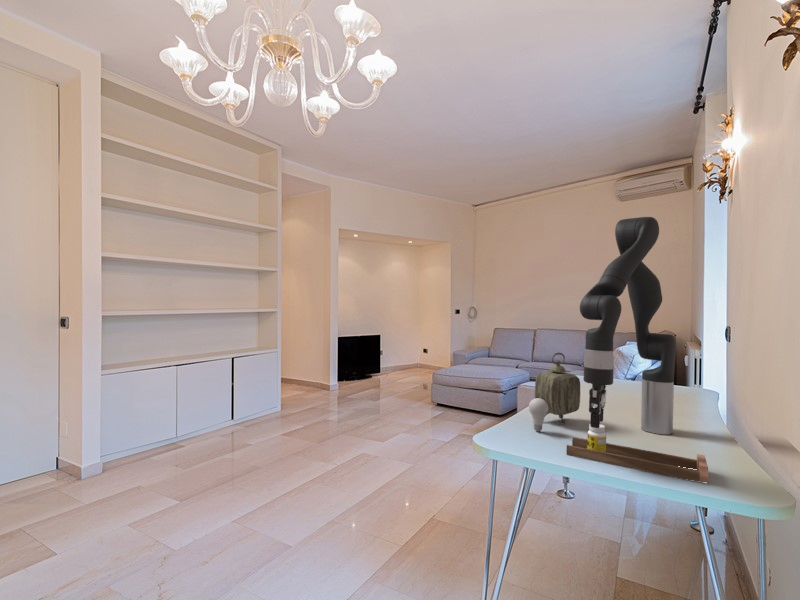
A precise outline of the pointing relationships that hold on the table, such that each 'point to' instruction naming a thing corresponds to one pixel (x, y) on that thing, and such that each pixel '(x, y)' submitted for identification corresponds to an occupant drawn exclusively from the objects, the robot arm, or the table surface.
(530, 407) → the lightbulb
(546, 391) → the tabletop clock
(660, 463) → the guide track
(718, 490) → the table surface
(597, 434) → the supplement bottle
